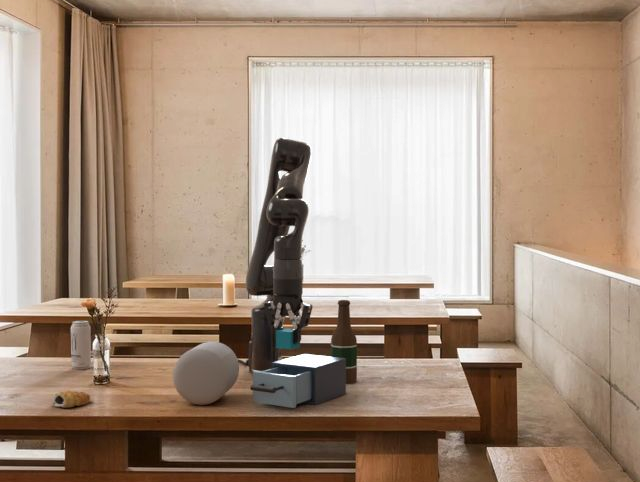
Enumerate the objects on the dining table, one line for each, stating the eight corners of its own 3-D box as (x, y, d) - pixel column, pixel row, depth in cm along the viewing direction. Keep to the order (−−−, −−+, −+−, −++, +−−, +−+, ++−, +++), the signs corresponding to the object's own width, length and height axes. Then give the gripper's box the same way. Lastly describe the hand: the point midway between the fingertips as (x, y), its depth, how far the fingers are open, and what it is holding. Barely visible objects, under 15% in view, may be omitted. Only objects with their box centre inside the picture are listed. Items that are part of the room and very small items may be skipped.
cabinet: (315, 404, 214) (315, 367, 213) (271, 398, 221) (271, 362, 221) (345, 393, 228) (346, 358, 227) (303, 388, 235) (303, 353, 234)
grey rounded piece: (148, 385, 215) (190, 356, 238) (185, 428, 214) (223, 394, 238) (194, 341, 208) (233, 316, 232) (233, 386, 208) (267, 355, 231)
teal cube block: (276, 348, 212) (276, 330, 212) (285, 345, 216) (285, 328, 216) (290, 349, 210) (290, 332, 210) (300, 347, 214) (300, 329, 213)
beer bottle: (354, 384, 240) (354, 302, 238) (328, 383, 241) (328, 301, 239) (358, 379, 247) (359, 299, 246) (333, 378, 249) (333, 298, 247)
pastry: (80, 399, 220) (79, 385, 220) (96, 403, 216) (96, 388, 216) (50, 406, 212) (49, 391, 212) (66, 410, 208) (66, 395, 208)
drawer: (282, 412, 202) (282, 380, 202) (241, 405, 209) (241, 375, 208) (324, 397, 219) (324, 367, 218) (284, 391, 225) (284, 363, 225)
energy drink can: (67, 368, 264) (66, 321, 263) (84, 365, 269) (83, 319, 268) (78, 370, 260) (77, 323, 259) (94, 368, 265) (94, 321, 264)
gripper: (319, 276, 211) (319, 343, 212) (273, 274, 219) (273, 338, 220) (303, 278, 205) (303, 347, 206) (256, 276, 212) (256, 342, 213)
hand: (288, 342), depth 213 cm, fingers closed on teal cube block, 4 cm apart
